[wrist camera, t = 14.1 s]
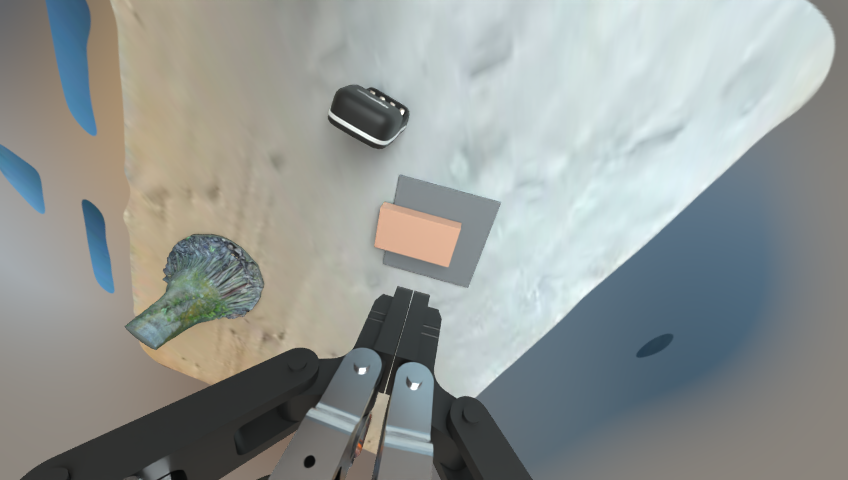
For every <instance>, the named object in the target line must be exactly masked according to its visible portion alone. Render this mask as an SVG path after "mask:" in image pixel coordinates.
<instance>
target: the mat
mask: <svg viewBox="0 0 848 480" xmlns="http://www.w3.org/2000/svg"><path fill="white" fill-rule="evenodd" d="M500 204H501V202H498V201H495V200H491V199H487V198H484V197H480V196H476V195H473V194H469V193H465V192H462V191H458V190H454V189H451V188H447V187H443V186H440V185H436V184H432V183H429V182H425V181H421V180H418V179H414V178H410V177H407V176H403V175H400V176H399V180H398V186H397V191H396V196H395V202H394V205H398V206H401V207H405V208H409V209H412V210H416V211H419V212H423V213H427V214H430V215H434V216H438V217H441V218H445V219H448V220H452V221H456V222H459V223H461V230H460V233H459V236H458V239H457V242H456V245H455V248H454V251H453V254H452V257H451V261H450V264H449V267H445V266H441V265H438V264H434V263H431V262H427V261H423V260H420V259H416V258H413V257H409V256H406V255H402V254H398V253H395V252H391V251H388V250H385V255H384V261H383V264H385V265H389V266H392V267H396V268H400V269H403V270H407V271H410V272H414V273H417V274H421V275H424V276H428V277H432V278H435V279H439V280H442V281H446V282H449V283H453V284H456V285H460V286H464V287H467V288H468V287H469V284H470V281H471V279H472V276H473V274H474V271H475V269H476V266H477V263H478V261H479V258H480V256H481V253H482V250H483V248H484V245H485V243H486V240H487V238H488V235H489V232H490V230H491V227H492V225H493V222H494V219H495V217H496V214H497V212H498V209H499V207H500Z"/></svg>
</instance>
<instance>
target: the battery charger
mask: <svg viewBox="0 0 848 480" xmlns="http://www.w3.org/2000/svg"><path fill="white" fill-rule="evenodd" d="M408 118H409V111H408V109H407V108H406V107H405V106H404V105H402V104H400V103H399V102H397V101H396V100H394V99H392V98H391V97H389V96H387V95H386V94H384V93H382V92H380V91H379V90H377V89H375V88H372V87H371V88H368V89H365V88H363V87H361V86H359V85H349V86H346V87H343V88H340V89H339V90H338V91H337V92H336V94H335V96H334V99H333V102H332V105H331V107H330V108H329V111H328V120H329V121H330V123H331V124H333V125H334V126H336V127H337V128H339V129H340V130H342V131H344V132H346V133H347V134H349V135H351V136H352V137H354V138H356V139H358V140H360V141H361V142H363V143H365V144H367V145H369V146H371V147H373V148H377V149H383V148H385V147H386V146H388V145H389V144H390V143H391V142H392V141H393V140H394V139H395V138H396V137H397V135H398V134H400V133H401V132H402V131H403V130H404V129H405V127H406V124H407V122H408Z"/></svg>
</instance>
